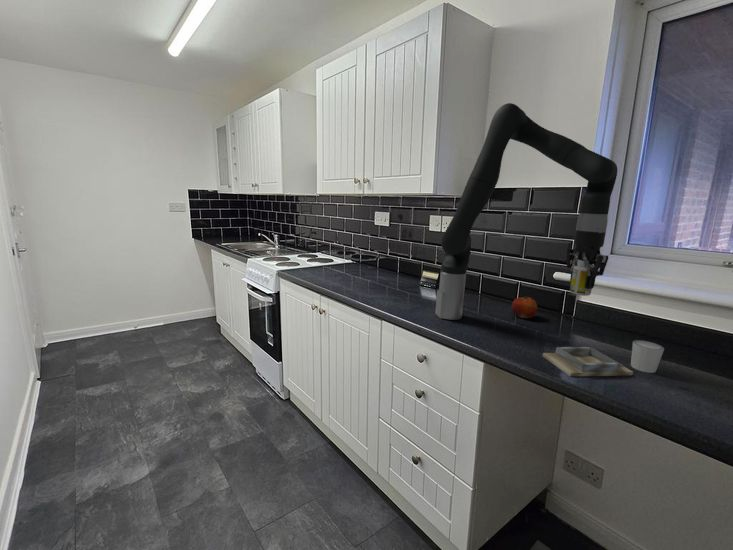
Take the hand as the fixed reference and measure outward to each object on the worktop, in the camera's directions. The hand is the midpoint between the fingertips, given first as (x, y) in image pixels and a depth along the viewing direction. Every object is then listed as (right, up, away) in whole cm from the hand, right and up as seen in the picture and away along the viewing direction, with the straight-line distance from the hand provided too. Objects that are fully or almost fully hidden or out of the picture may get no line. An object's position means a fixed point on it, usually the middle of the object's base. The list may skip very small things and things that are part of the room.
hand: (581, 285), depth 108 cm
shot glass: (+12, -23, -8) cm, 27 cm away
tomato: (-3, -13, +32) cm, 35 cm away
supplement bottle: (0, -3, +1) cm, 3 cm away
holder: (-4, -22, -8) cm, 24 cm away
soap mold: (-2, -105, +24) cm, 108 cm away
